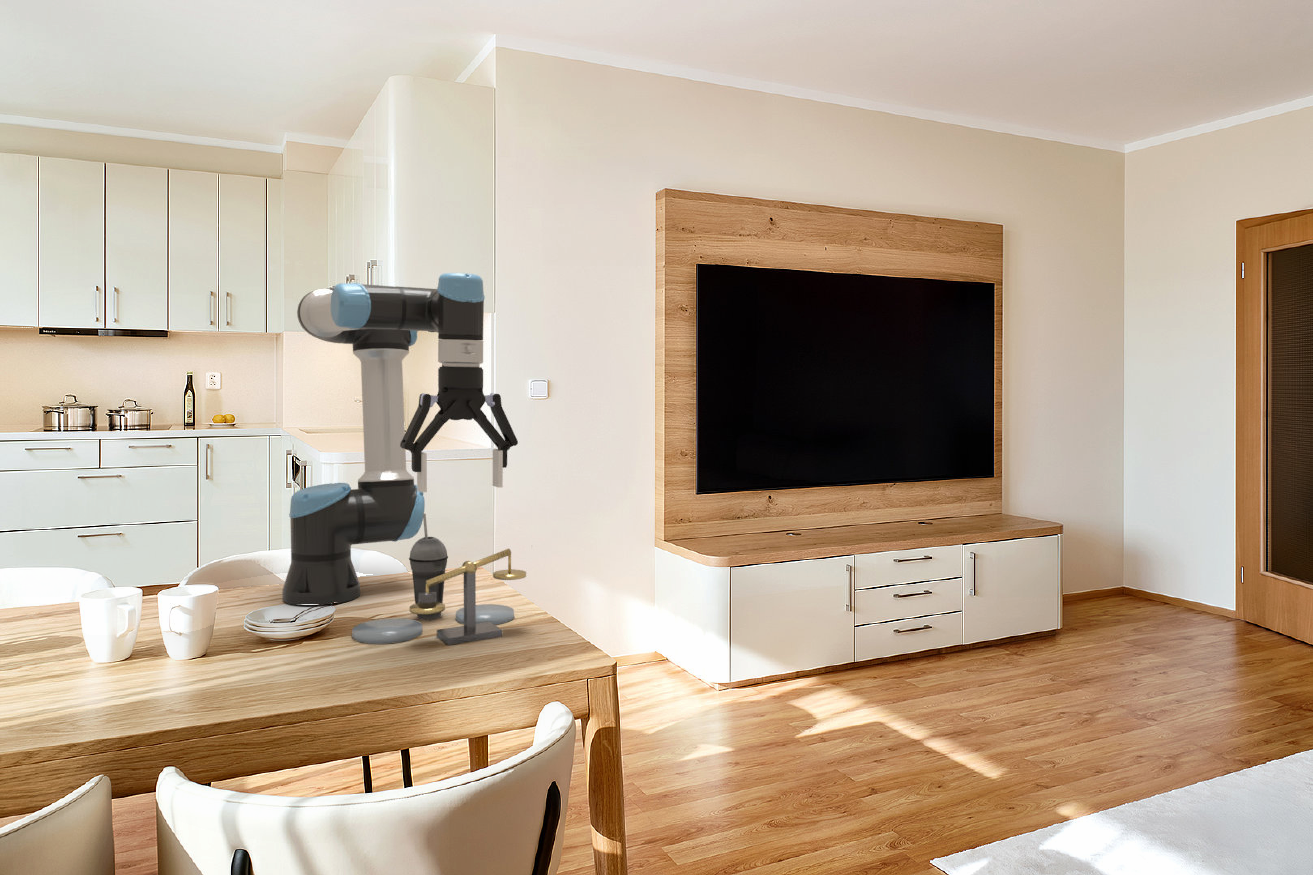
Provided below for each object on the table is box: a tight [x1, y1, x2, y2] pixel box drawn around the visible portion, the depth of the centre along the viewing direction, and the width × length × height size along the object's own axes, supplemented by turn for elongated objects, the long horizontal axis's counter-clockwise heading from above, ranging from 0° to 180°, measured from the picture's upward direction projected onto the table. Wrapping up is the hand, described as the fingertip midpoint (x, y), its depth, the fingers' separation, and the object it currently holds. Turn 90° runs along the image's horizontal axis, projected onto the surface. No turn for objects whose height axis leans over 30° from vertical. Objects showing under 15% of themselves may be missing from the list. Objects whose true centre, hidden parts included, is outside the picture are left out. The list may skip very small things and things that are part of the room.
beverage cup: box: [408, 513, 449, 621], centre depth 169 cm, size 7×7×20 cm
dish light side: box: [455, 603, 515, 626], centre depth 170 cm, size 11×11×1 cm
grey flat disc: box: [351, 617, 423, 645], centre depth 159 cm, size 12×12×1 cm
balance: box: [409, 548, 527, 646], centre depth 157 cm, size 6×21×15 cm, turn 123°
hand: (460, 489), depth 152 cm, fingers open, 13 cm apart
